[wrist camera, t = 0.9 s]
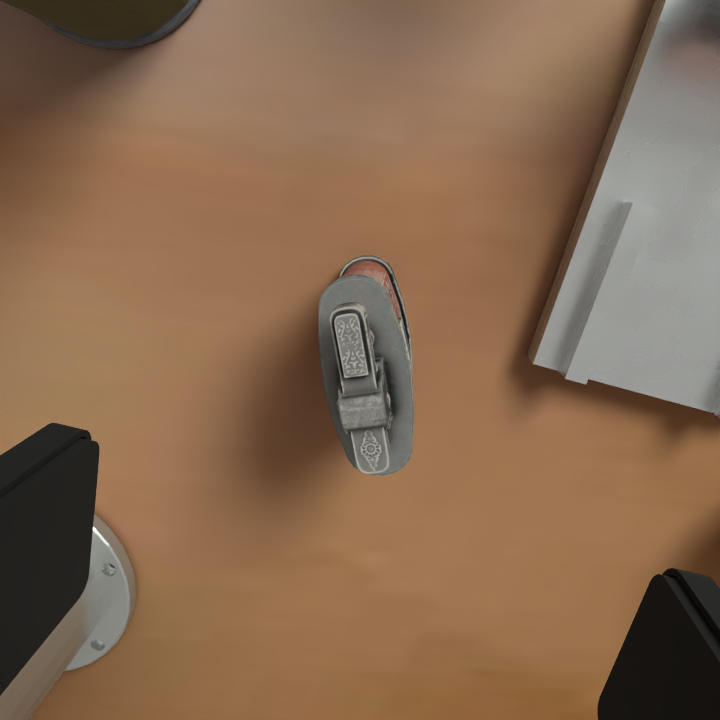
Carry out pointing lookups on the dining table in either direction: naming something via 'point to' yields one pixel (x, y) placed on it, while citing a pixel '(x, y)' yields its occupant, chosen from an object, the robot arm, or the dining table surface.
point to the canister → (110, 19)
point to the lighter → (368, 365)
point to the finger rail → (649, 228)
